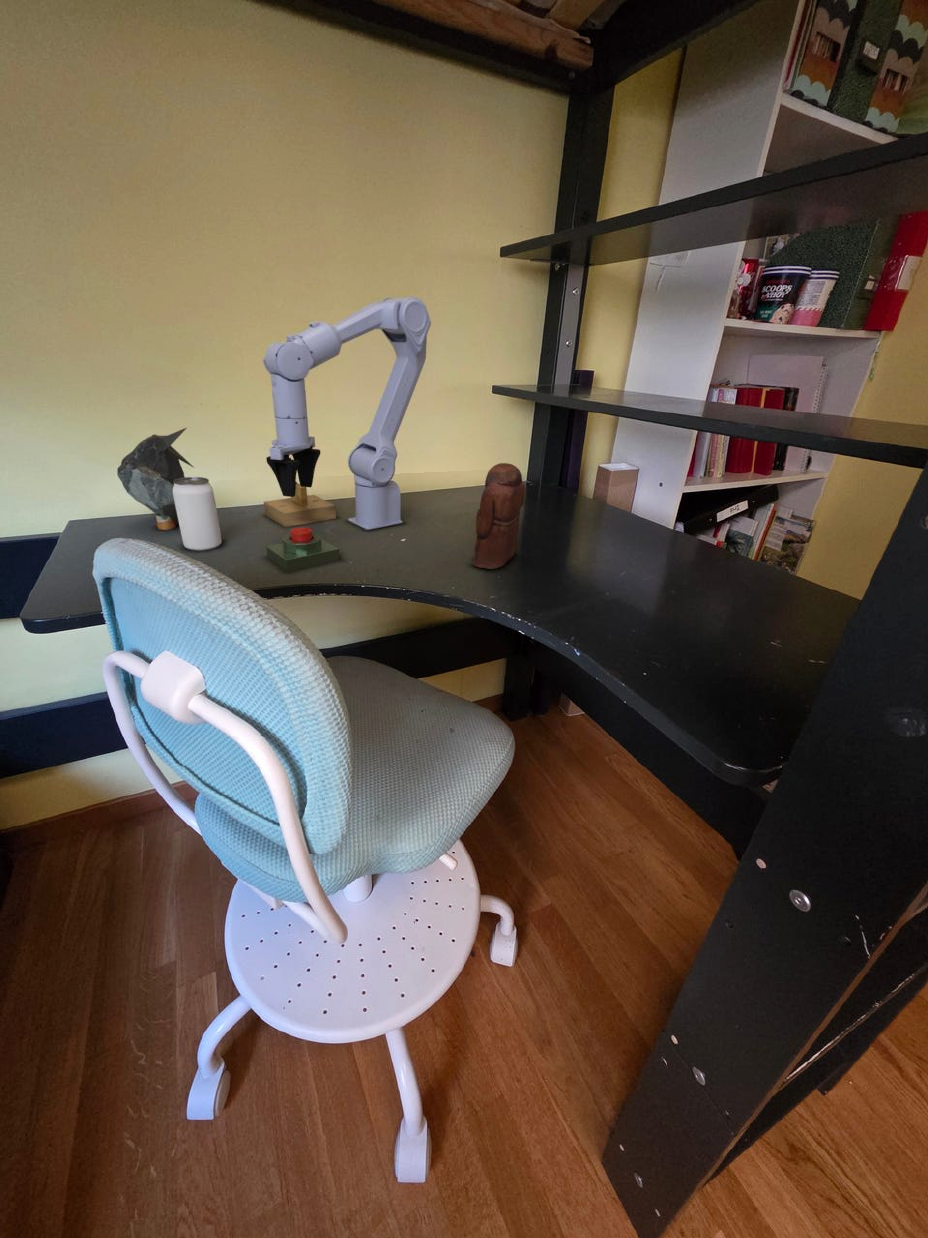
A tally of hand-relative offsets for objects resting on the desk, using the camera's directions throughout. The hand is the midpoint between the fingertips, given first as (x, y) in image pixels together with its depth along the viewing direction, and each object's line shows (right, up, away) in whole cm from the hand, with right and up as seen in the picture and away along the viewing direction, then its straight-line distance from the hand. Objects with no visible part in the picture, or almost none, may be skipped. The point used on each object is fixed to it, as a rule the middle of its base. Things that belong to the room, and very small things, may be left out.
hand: (297, 491), depth 99 cm
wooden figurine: (+38, -14, -2) cm, 41 cm away
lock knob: (-4, +1, +13) cm, 13 cm away
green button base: (+3, -14, -7) cm, 16 cm away
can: (-16, -11, -4) cm, 20 cm away
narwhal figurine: (-28, -5, +5) cm, 29 cm away
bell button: (+4, -11, -9) cm, 14 cm away
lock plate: (-4, -2, +14) cm, 15 cm away
